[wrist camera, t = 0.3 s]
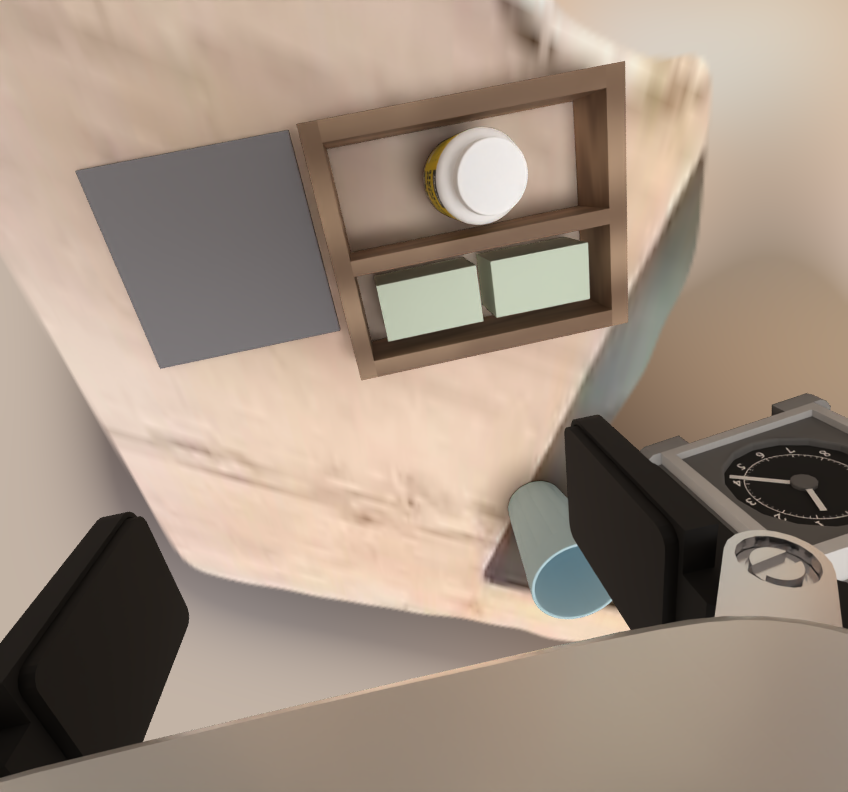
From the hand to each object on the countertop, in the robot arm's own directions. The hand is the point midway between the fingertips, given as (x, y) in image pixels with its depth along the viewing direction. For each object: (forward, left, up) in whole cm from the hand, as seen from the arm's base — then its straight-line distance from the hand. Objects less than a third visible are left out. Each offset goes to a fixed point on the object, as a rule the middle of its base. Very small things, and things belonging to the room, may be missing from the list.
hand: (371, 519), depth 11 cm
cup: (+24, +12, -29) cm, 40 cm away
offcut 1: (+2, +5, -29) cm, 30 cm away
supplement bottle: (-6, +9, -29) cm, 31 cm away
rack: (-2, +9, -29) cm, 31 cm away
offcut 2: (+2, +13, -29) cm, 32 cm away
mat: (-4, -9, -29) cm, 31 cm away
